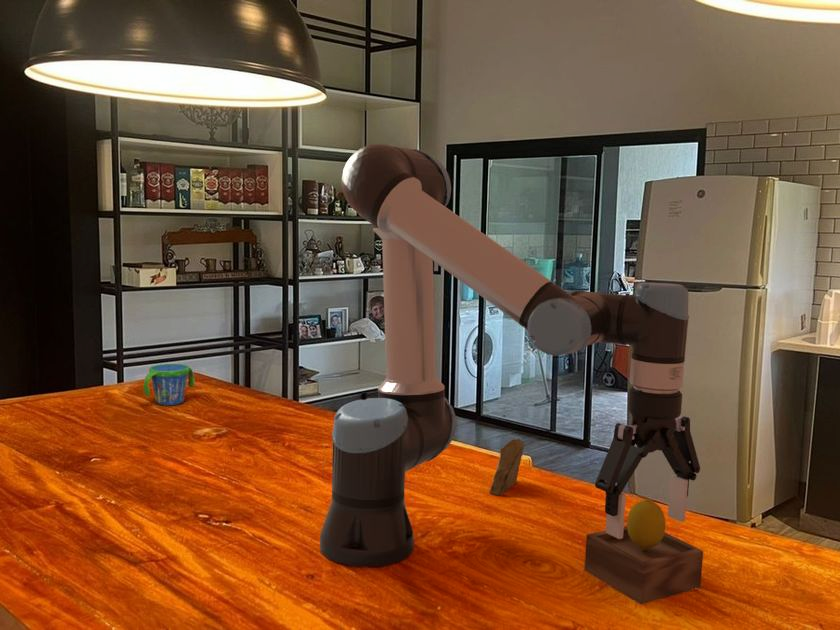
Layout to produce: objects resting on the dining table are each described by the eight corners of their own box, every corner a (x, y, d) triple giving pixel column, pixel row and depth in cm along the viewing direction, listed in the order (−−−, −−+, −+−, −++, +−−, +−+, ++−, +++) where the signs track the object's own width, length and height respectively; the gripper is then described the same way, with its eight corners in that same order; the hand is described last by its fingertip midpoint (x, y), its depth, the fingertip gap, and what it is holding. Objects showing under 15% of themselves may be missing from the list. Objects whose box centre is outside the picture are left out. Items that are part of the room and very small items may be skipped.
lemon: (634, 540, 123) (638, 490, 122) (669, 550, 119) (673, 499, 119) (619, 550, 119) (622, 498, 118) (654, 561, 115) (658, 507, 114)
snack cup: (154, 411, 210) (153, 373, 209) (133, 404, 217) (133, 367, 216) (204, 402, 222) (204, 366, 221) (184, 395, 229) (184, 361, 227)
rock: (506, 490, 150) (542, 474, 156) (485, 450, 153) (521, 435, 159) (477, 508, 158) (512, 492, 164) (457, 469, 161) (492, 455, 167)
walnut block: (640, 607, 112) (643, 565, 111) (584, 572, 122) (586, 534, 121) (700, 590, 117) (703, 550, 117) (641, 559, 128) (644, 522, 127)
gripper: (615, 401, 106) (605, 552, 109) (731, 385, 120) (720, 520, 122) (575, 390, 112) (567, 533, 115) (690, 376, 126) (680, 504, 128)
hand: (646, 527), depth 119 cm, fingers open, 13 cm apart
